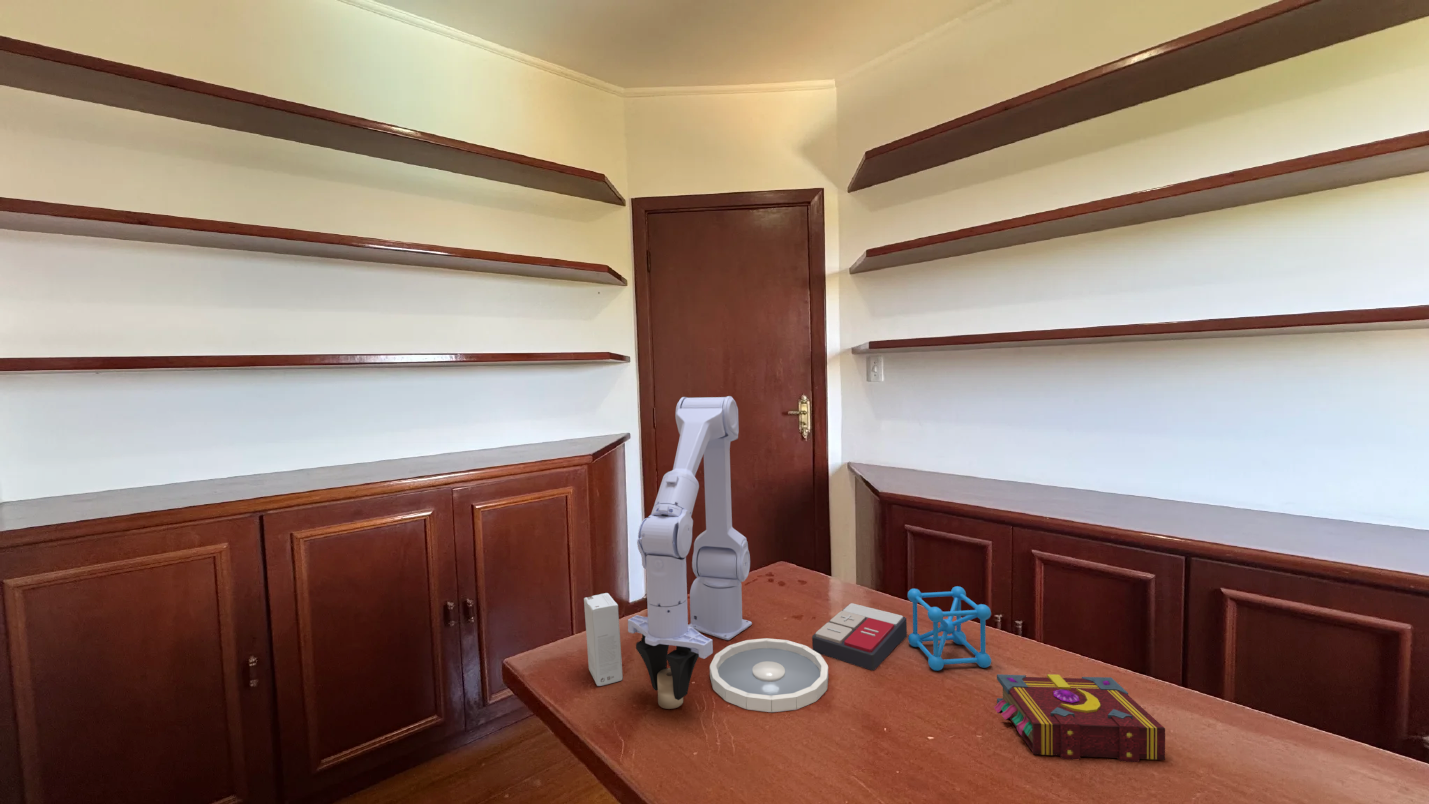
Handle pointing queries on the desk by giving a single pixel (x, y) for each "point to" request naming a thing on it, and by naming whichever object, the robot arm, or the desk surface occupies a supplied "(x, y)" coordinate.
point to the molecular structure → (949, 628)
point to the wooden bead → (666, 690)
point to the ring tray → (769, 675)
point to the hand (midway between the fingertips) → (670, 691)
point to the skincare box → (603, 639)
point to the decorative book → (1080, 718)
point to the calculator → (860, 636)
